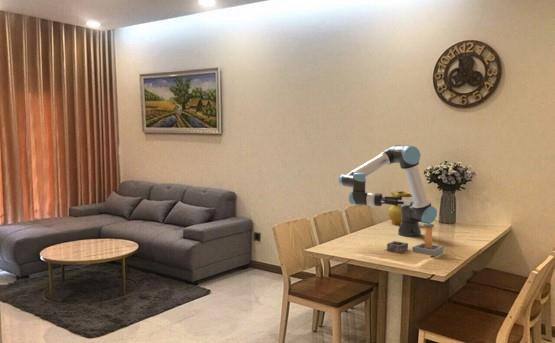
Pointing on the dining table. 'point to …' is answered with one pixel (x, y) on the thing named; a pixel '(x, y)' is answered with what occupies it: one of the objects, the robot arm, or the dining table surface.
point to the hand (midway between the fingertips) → (411, 201)
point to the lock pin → (428, 236)
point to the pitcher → (397, 208)
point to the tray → (429, 250)
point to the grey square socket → (397, 247)
